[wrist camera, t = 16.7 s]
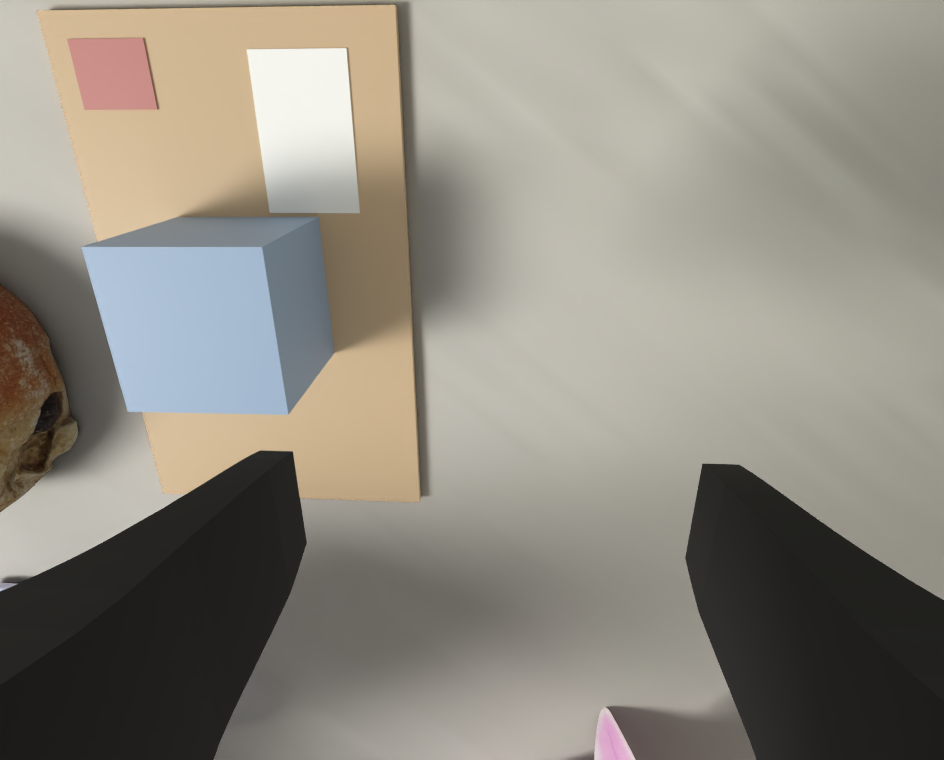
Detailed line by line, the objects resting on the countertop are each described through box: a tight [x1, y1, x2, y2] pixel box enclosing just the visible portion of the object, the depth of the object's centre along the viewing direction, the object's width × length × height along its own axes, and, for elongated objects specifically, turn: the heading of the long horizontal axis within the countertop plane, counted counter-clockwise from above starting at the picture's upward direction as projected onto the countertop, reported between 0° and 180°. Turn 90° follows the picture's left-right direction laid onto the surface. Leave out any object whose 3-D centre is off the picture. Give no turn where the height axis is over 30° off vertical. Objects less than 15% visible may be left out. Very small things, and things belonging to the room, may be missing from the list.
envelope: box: [37, 5, 421, 502], centre depth 20 cm, size 16×10×1 cm, turn 0°
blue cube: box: [81, 217, 334, 415], centre depth 17 cm, size 4×4×4 cm
